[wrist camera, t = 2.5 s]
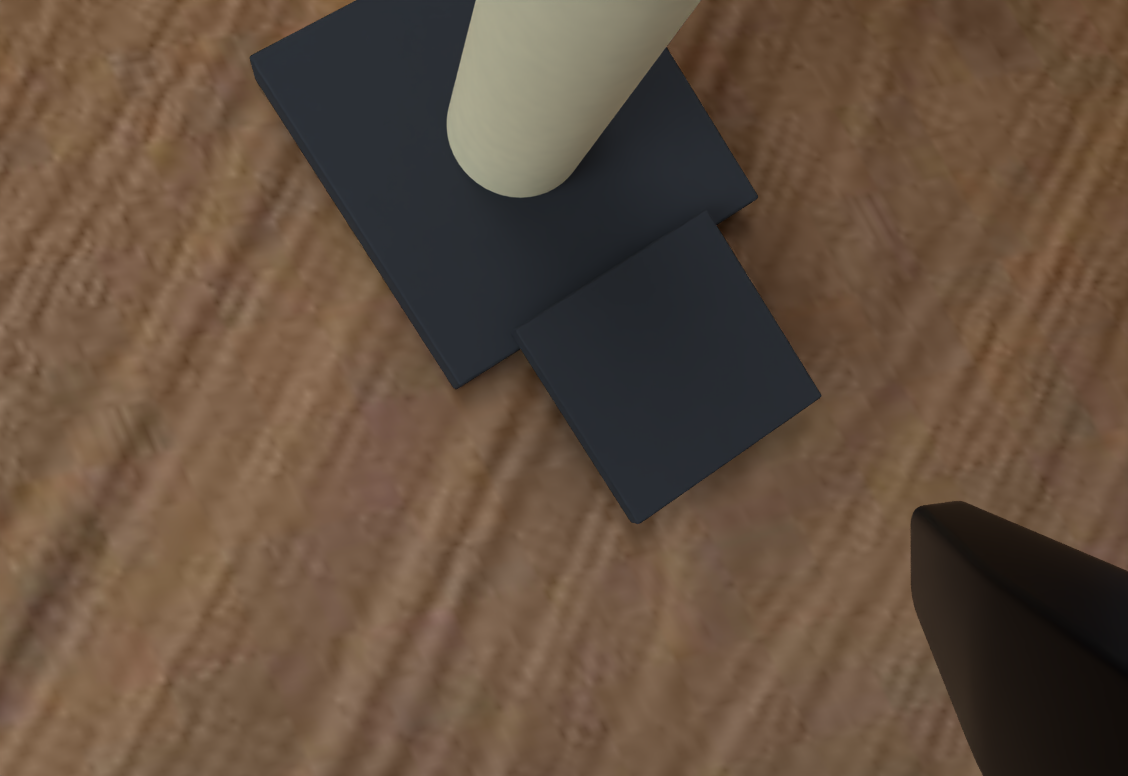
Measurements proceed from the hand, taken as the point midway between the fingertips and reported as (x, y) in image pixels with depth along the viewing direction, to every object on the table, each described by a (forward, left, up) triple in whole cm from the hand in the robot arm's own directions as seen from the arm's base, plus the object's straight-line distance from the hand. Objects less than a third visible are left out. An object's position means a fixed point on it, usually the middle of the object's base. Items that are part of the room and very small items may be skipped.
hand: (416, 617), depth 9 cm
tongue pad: (+7, -2, -13) cm, 15 cm away
